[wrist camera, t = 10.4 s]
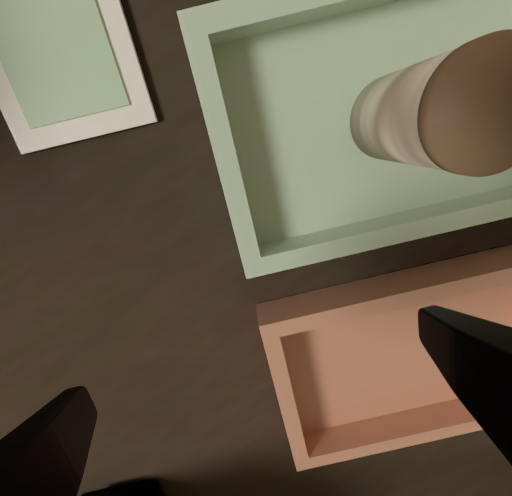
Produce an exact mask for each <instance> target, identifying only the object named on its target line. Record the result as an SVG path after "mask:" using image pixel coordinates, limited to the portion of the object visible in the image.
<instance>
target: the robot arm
mask: <svg viewBox="0 0 512 496" xmlns="http://www.w3.org/2000/svg"><path fill="white" fill-rule="evenodd" d="M418 331H419V338H420V341H421V343H422V345H423V346H424V348H425V349H426V351H427V352H428V354H429V355H430V357H431V359H432V360H433V362H434V363H435V365H436V366H437V368H438V369H439V371H440V372H441V374H442V375H443V377H444V379H445V380H446V382H447V383H448V385H449V386H450V388H451V389H452V391H453V392H454V393H455V395H456V396H457V397H458V399H459V400H460V401H461V403H462V404H463V405H464V406H465V408H466V409H467V410H468V411H469V413H470V414H471V415H472V416H473V418H474V419H475V420H476V421H477V423H478V424H479V425H480V426H481V428H482V429H483V430H484V431H485V433H486V434H487V435H488V436H489V438H490V439H491V440H492V441H493V443H494V444H495V445H496V446H497V448H498V449H499V450H500V451H501V453H502V454H503V455H504V456H505V458H506V459H507V460H508V461H509V463H510V464H511V465H512V327H509V326H506V325H503V324H499V323H496V322H492V321H489V320H485V319H482V318H478V317H475V316H471V315H468V314H464V313H461V312H458V311H454V310H451V309H447V308H444V307H440V306H437V305H431V306H427V307H422V308H420V309H419V310H418ZM96 420H97V411H96V407H95V405H94V403H93V401H92V399H91V397H90V395H89V393H88V391H87V389H86V388H85V387H84V386H77V387H73V388H69V389H66V390H65V391H63V392H62V393H61V394H59V395H58V396H57V397H55V398H54V399H53V400H51V401H50V402H49V403H48V404H46V405H45V406H44V407H42V408H41V409H40V410H38V411H37V412H36V413H35V414H33V415H32V416H31V417H29V418H28V419H27V420H25V421H24V422H23V423H22V424H20V425H19V426H18V427H16V428H15V429H14V430H12V431H11V432H10V433H9V434H7V435H6V436H5V437H3V438H2V439H1V440H0V496H77V493H78V490H79V487H80V484H81V480H82V477H83V473H84V469H85V465H86V461H87V457H88V453H89V449H90V444H91V440H92V436H93V432H94V428H95V424H96ZM84 496H164V494H163V492H162V490H161V488H160V486H159V484H158V482H156V481H153V480H150V481H146V482H141V483H137V484H132V485H128V486H124V487H119V488H115V489H110V490H106V491H101V492H97V493H93V494H88V495H84Z"/></svg>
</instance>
